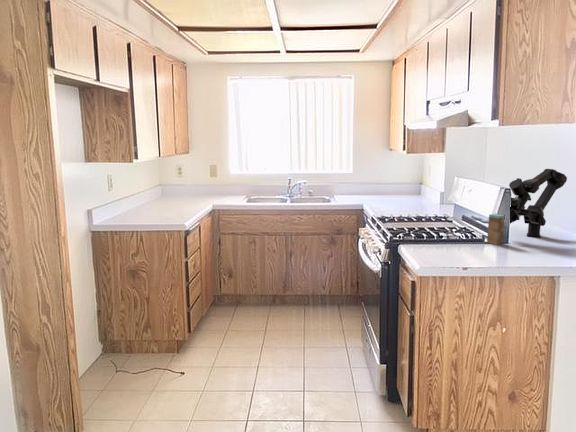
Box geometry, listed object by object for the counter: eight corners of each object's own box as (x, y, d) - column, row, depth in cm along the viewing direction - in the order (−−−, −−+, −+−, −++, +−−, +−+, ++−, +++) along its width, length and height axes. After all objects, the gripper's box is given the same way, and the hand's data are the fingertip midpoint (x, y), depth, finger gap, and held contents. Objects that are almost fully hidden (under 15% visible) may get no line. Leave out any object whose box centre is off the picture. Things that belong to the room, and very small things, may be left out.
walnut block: (493, 241, 247) (495, 213, 245) (502, 243, 243) (504, 215, 240) (487, 242, 244) (489, 214, 242) (496, 244, 240) (498, 216, 238)
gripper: (496, 188, 253) (481, 212, 249) (531, 193, 238) (515, 218, 234) (505, 203, 259) (490, 226, 255) (539, 208, 243) (524, 232, 240)
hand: (504, 225), depth 246 cm, fingers closed
